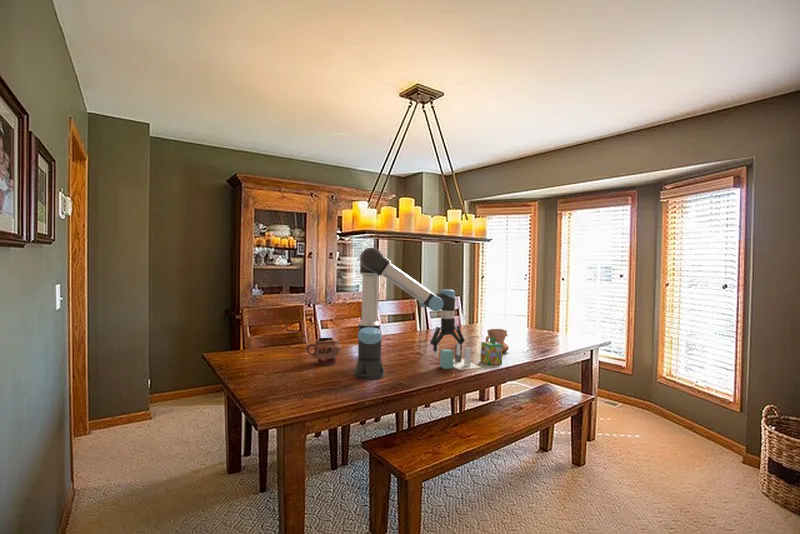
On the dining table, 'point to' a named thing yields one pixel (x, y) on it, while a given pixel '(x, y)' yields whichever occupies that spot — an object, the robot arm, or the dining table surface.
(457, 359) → the black post
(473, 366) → the board
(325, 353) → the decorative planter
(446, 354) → the teal rectangular block
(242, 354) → the dining table surface
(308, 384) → the dining table surface
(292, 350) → the dining table surface
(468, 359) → the steel post
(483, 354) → the chalk box
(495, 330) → the ceramic jug
